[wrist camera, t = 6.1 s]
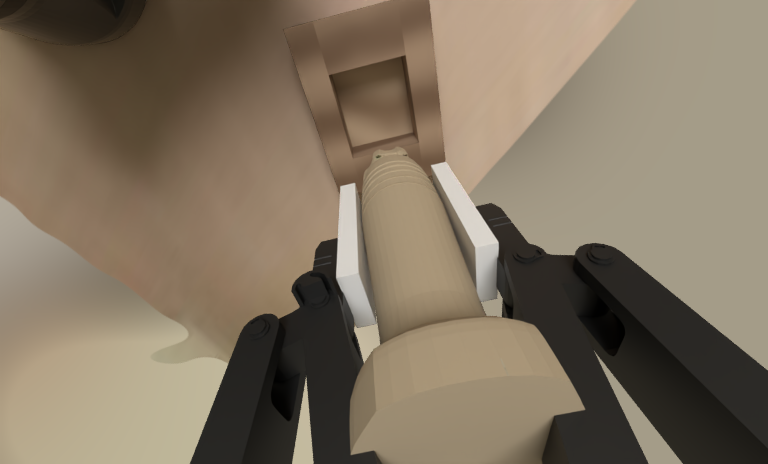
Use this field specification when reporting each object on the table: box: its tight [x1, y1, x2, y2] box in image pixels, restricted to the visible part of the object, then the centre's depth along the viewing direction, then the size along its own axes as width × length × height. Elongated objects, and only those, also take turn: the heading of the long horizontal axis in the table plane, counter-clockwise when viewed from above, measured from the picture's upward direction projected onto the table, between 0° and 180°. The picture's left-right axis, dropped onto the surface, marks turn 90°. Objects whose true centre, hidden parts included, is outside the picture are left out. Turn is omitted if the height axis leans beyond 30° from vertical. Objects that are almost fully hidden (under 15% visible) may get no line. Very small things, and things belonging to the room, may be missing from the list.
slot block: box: [283, 0, 445, 193], centre depth 31 cm, size 16×12×4 cm
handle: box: [350, 147, 585, 464], centre depth 13 cm, size 5×6×15 cm
